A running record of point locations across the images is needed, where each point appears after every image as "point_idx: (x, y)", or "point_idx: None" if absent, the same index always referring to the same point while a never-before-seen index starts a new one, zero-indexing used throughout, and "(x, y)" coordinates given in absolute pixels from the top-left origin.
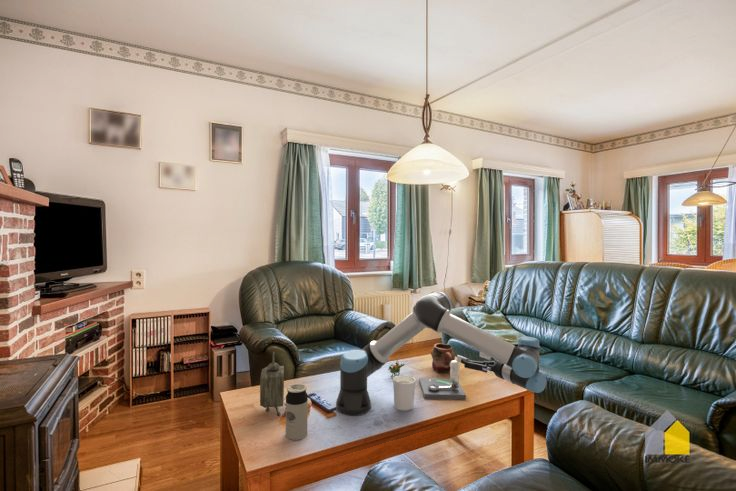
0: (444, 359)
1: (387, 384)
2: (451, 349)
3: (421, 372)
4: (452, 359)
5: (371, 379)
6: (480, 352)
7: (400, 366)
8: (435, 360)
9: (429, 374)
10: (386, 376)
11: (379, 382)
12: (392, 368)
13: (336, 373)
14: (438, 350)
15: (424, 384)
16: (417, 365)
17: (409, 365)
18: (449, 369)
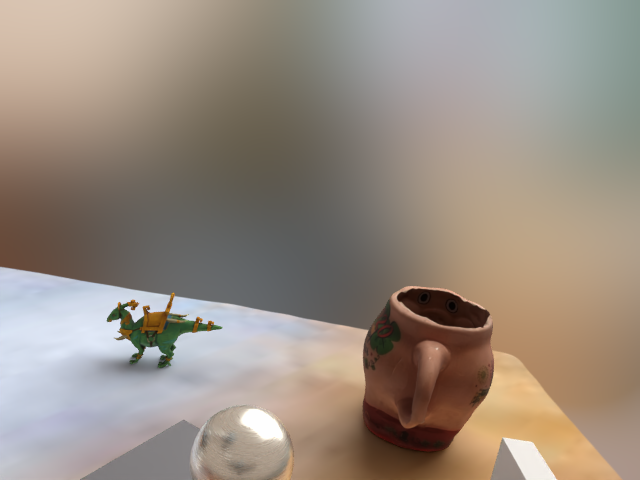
0: (405, 377)
1: (25, 381)
2: (470, 336)
3: (291, 395)
4: (459, 396)
5: (35, 334)
6: (504, 477)
7: (186, 327)
8: (363, 363)
9: (310, 421)
10: (116, 347)
11: (24, 358)
12: (137, 321)
13: (5, 272)
14: (390, 315)
15: (118, 476)
16: (332, 359)
17: (300, 346)
18: (437, 442)
